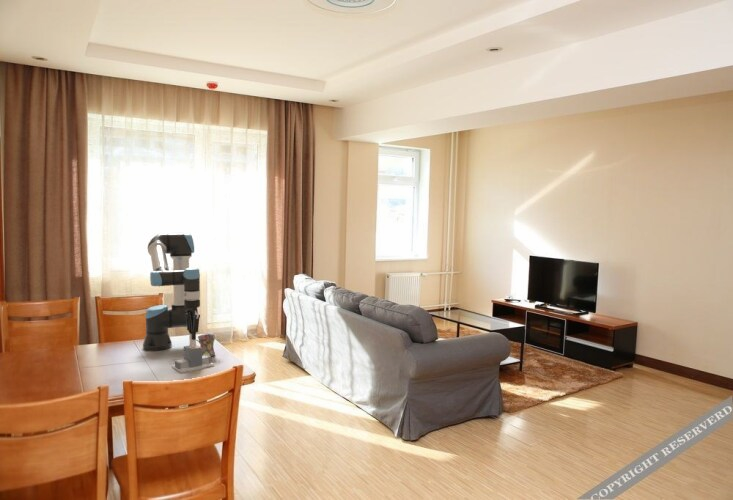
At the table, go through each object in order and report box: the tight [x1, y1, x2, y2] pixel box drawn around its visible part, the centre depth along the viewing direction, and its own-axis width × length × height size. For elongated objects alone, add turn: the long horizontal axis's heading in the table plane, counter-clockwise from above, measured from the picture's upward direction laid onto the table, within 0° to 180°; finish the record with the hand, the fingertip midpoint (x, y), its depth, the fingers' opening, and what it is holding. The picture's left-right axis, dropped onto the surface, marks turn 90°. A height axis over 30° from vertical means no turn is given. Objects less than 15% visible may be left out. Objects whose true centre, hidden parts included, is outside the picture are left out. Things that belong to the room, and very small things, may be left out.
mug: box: [196, 333, 217, 357], centre depth 281 cm, size 12×9×11 cm
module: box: [183, 344, 202, 368], centre depth 263 cm, size 8×6×9 cm
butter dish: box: [171, 354, 215, 374], centre depth 263 cm, size 11×17×4 cm, turn 132°
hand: (192, 345), depth 262 cm, fingers closed
